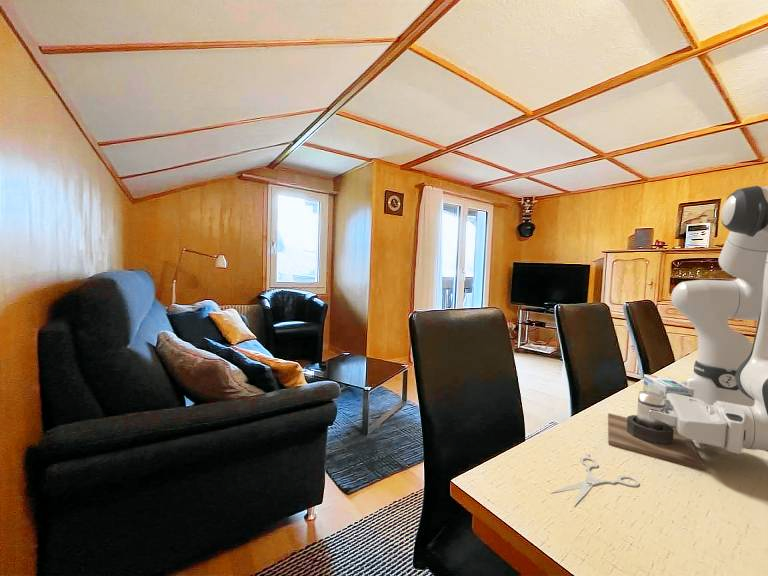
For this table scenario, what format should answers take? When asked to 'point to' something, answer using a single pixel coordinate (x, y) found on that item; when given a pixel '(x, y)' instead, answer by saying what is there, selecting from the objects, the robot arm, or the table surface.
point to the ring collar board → (652, 441)
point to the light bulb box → (666, 386)
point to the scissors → (593, 480)
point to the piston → (650, 402)
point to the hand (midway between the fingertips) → (646, 406)
